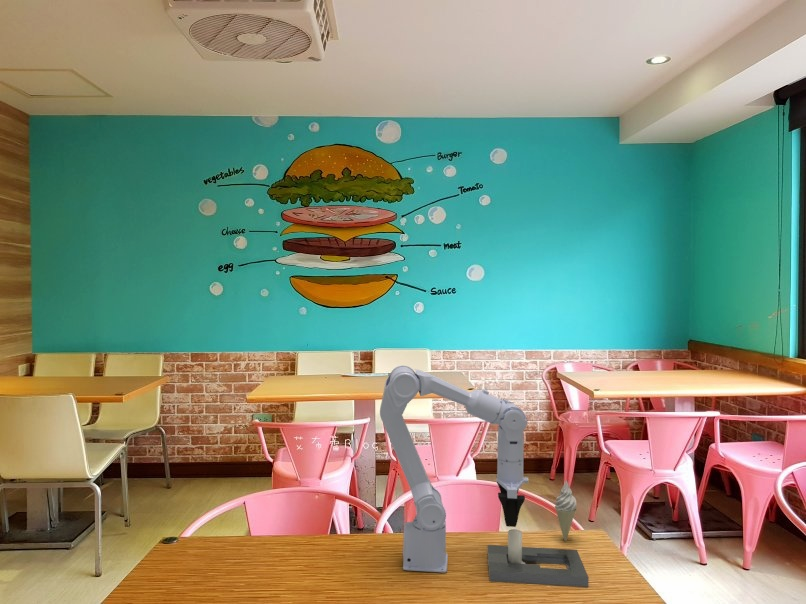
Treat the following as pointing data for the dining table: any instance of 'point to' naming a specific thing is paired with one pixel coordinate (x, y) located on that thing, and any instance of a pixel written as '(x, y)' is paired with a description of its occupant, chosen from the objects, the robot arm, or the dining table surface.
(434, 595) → the dining table surface
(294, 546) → the dining table surface
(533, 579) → the keyhole plate
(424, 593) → the dining table surface
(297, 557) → the dining table surface
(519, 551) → the peg
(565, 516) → the ice cream cone
